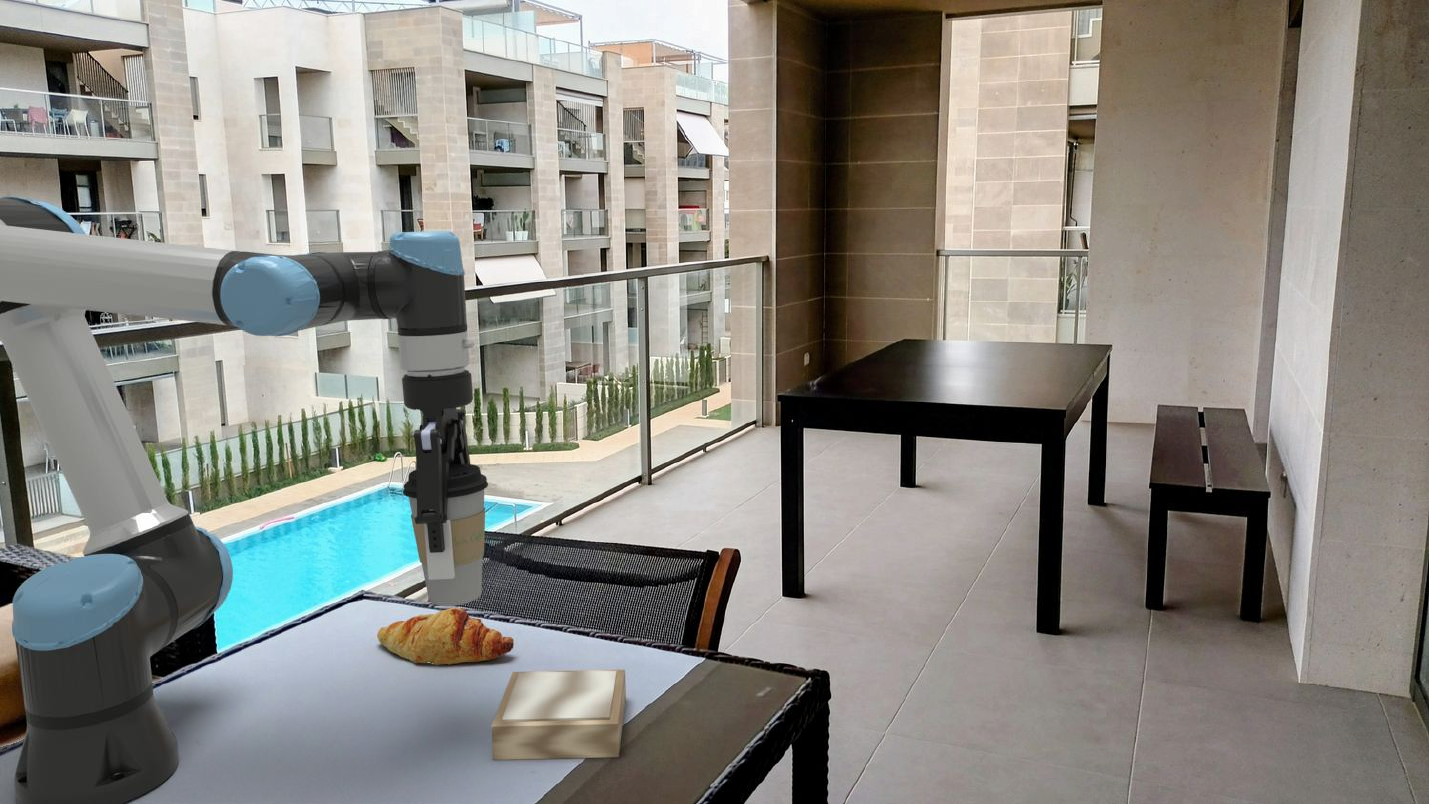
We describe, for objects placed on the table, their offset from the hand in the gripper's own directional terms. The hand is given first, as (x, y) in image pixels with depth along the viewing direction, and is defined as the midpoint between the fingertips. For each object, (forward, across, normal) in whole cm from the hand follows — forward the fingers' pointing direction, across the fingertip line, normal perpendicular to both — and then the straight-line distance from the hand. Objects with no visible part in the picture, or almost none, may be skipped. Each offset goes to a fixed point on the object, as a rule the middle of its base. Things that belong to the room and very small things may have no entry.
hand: (452, 563), depth 116 cm
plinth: (+21, 0, -12) cm, 24 cm away
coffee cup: (+4, 0, 0) cm, 4 cm away
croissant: (+21, +22, +8) cm, 31 cm away
